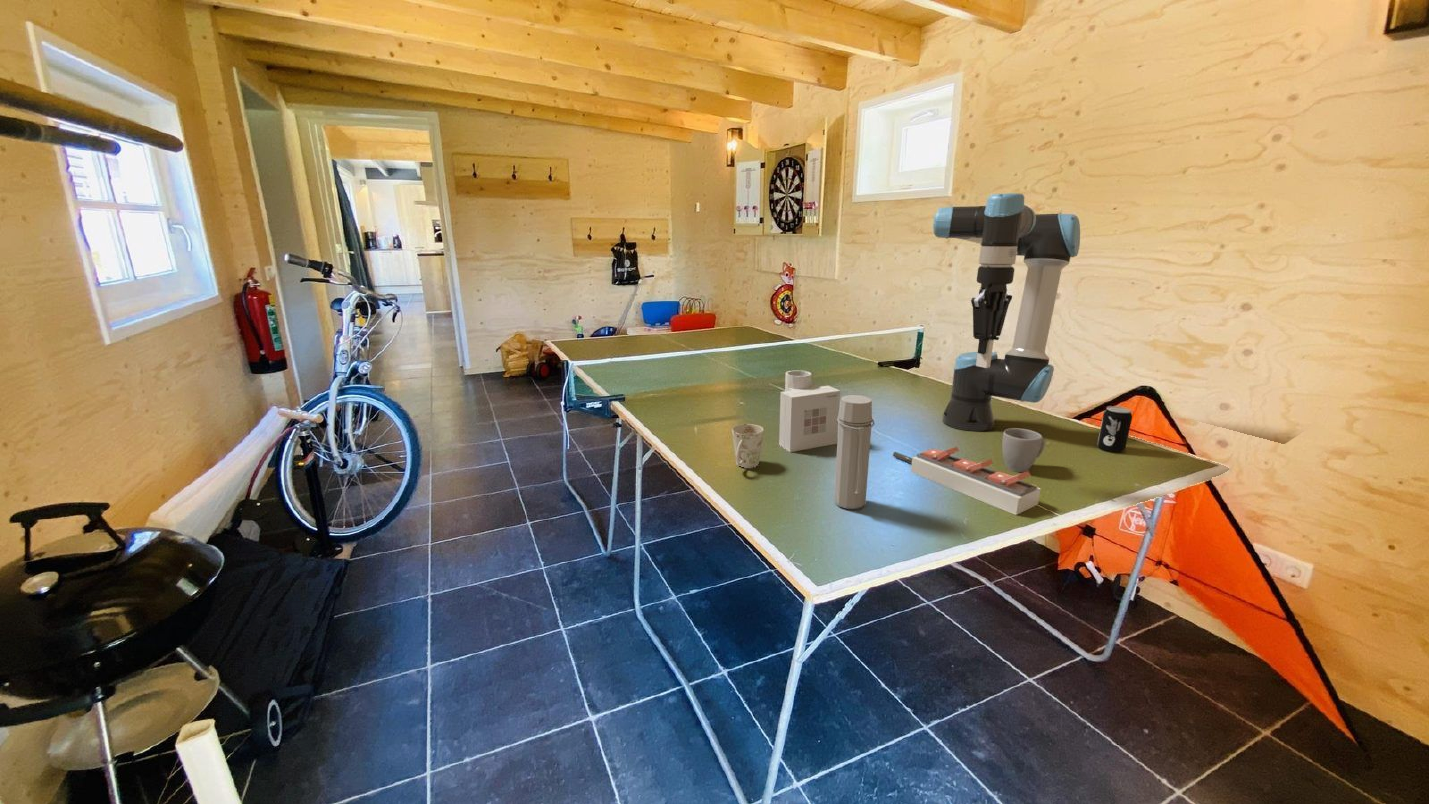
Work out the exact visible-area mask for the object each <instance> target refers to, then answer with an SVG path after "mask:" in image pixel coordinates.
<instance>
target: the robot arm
mask: <svg viewBox="0 0 1429 804" xmlns="http://www.w3.org/2000/svg"><path fill="white" fill-rule="evenodd" d="M933 217H934V218H933V223H932V228H933V231H932V232H933V233H934V236H935V237H936V238H938V239H939V238H942V239H958V240H963V241H966V242H967V241H968V242H971V243H976V244H979V245H980V250H979V258H978V264H979V265H980V266H979V267H978V268H977V274H976V282H977V283H978V284H980V289H979V290H978V295H977V297H972V298H971V300H970V302H971V306H972V329H973V331H972V332H973V333H972V334H973V336H972V337H973V338H974V339H975V340H978V346H977V351H970V352H964V353H961V354H959V355H957V357H956V359H955V363H954V366H953V377H952V384H951V394H950V395H951V396H950V399H949V401H948V403H947V405H946V407H945V410H944V412H943V413H942V418H941V419H942V423H943V424H945V425H946V426H947V427H948V426H949V427H951V428H954V429H958V430H963V431H972V432H981V431H982V432H984V431H989V430H991V429H993V428H994V424H995V417H994V412H993V408H992V403H991V401H992V397H995V398H1002V399H1009V400H1013V401H1019V402H1022V403H1023V402H1025V403H1026V402H1027V403H1036V404H1037V403H1038V402H1040V401H1042V400H1043V398H1044V397H1045V395H1046V394H1047V392H1048V390H1049V387H1050V385H1051V382H1052V380H1053V377H1054V376H1053V375H1054V371H1055V368H1054V366H1053V365H1052V364H1049V363H1050V357H1049V356H1048V355H1047V354H1046V347H1047V343H1048V339H1049V333H1050V328H1051V325H1052V318H1053V313H1054V309H1055V305H1056V300H1057V299H1056V298H1057V293H1058V290H1059V289H1058V288H1059V284H1060V280H1061V275H1062V270H1063V269H1064V268H1066V267H1067V266H1068V265H1069V264H1070V261H1071V258H1074V257H1077V256H1078V255H1079V252H1080V251H1079V250H1080V245H1081V225H1080V219H1079V217H1078V216H1077V215H1075V214H1073V213H1072V214H1071V213H1061V212H1060V213H1059V212H1058V213H1044V214H1043V213H1042V214H1038V213H1037V214H1036V213H1035V211H1034V210H1033V209H1032V208H1031V207H1029V206H1028V205H1025V196H1024V194H1023V193H1018V192H1017V193H1016V192H1012V193H1010V192H1009V193H994V194H993V193H992V194H991V195H989V196H988V197H987V199H986V205H979V206H977V205H975V206H974V205H972V206H968V205H967V206H951V205H950V206H947V207H941V208H938V209H937V211H936V212H935V214H934V216H933ZM1017 256H1021V257H1023V256H1024V257H1023V261H1022V262H1023V263H1024V265H1026V267H1027V271H1026V276H1025V277H1026V278H1025V281H1024V285H1023V292H1022V296H1021V301H1020V307H1019V310H1018V311H1019V312H1018V317H1017V323H1016V327H1015V333H1014V337H1013V343H1012V348H1011V349H1010V350H1008V351H1007V352H1005V354H1004V358H998V357H999V356H998V354H997V352H993V350H994V349H993V348H994V341H999V339H1000V336H1001V335H1002V331H1003V327H1004V323H1005V320H1006V316H1007V312H1008V309H1009V305H1010V303H1011V302H1012V299H1013V295H1012V294H1008V293H1007V292H1008V288H1007V285H1010V284H1012V283H1013V282H1014V276H1015V271H1016V270H1015V269H1016V268H1015V267H1014V266H1013V265H1015V264H1016V261H1017Z"/></svg>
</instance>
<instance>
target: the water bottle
mask: <svg viewBox="0 0 1429 804" xmlns="http://www.w3.org/2000/svg"><path fill="white" fill-rule="evenodd" d="M872 403H873V402H872V398H870V397H868V396H864V395H859V394H858V395H857V394H855V395H854V394H850V395H844V396H840V403H839V415H838V418H837V421H838V437H837V444H836V445H837V447H836V459H835V476H834V477H835V478H834V495H833V500H834V501H833V502H834V503H835V504H836V505H837V506H839V507H840V508H843V509H847V510H856V509H861V508H862V507H863V506H865V505H866V502H867V488H868V474H869V465H870V464H869V463H870V461H869V459H870V453H871V452H870V449H871V437H872V428H873V427H874V426H875V420H874V419H873V406H872Z"/></svg>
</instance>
